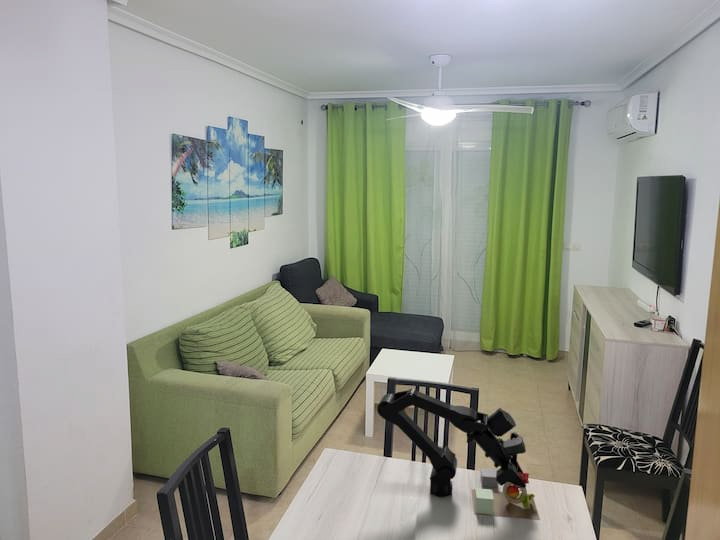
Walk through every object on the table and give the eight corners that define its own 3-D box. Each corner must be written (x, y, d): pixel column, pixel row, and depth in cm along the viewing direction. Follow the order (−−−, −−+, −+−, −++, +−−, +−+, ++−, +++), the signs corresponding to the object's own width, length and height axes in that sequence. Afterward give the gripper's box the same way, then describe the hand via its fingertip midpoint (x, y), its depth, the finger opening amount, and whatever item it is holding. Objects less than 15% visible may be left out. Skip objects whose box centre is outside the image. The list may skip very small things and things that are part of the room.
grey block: (481, 490, 178) (482, 476, 177) (480, 481, 183) (480, 468, 182) (497, 491, 177) (498, 477, 176) (495, 483, 182) (496, 469, 181)
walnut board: (473, 518, 163) (474, 513, 163) (471, 493, 176) (471, 489, 176) (539, 524, 161) (540, 519, 161) (531, 498, 173) (532, 494, 173)
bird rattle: (508, 515, 166) (538, 510, 162) (495, 482, 165) (524, 476, 162) (510, 503, 172) (539, 498, 168) (497, 471, 171) (525, 465, 168)
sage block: (475, 513, 163) (476, 497, 162) (474, 503, 168) (475, 488, 167) (492, 514, 163) (493, 499, 162) (491, 504, 168) (492, 489, 167)
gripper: (510, 443, 156) (548, 485, 155) (510, 416, 173) (544, 453, 173) (481, 465, 159) (517, 505, 158) (483, 435, 177) (516, 472, 176)
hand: (524, 482), depth 166 cm, fingers open, 4 cm apart
